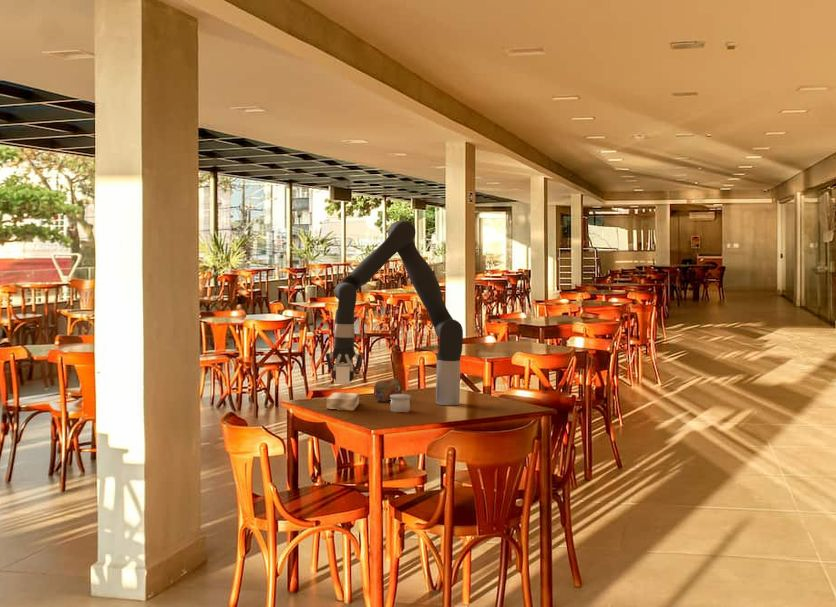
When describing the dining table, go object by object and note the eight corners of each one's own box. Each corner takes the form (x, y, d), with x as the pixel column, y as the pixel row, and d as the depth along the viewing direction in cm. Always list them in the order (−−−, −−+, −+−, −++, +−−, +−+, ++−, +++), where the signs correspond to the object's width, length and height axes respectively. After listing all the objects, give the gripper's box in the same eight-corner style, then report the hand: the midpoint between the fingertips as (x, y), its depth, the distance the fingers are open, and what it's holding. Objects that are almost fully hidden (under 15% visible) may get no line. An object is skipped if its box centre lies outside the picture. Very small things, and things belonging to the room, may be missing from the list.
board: (358, 403, 360) (358, 393, 360) (353, 410, 344) (353, 399, 344) (333, 402, 361) (333, 392, 361) (326, 409, 345) (326, 398, 345)
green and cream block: (351, 382, 355) (351, 363, 355) (349, 384, 349) (349, 365, 349) (337, 382, 355) (337, 363, 355) (335, 383, 350) (335, 365, 349)
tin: (378, 402, 364) (378, 381, 363) (372, 402, 366) (372, 380, 365) (402, 398, 376) (402, 377, 375) (396, 397, 378) (396, 377, 377)
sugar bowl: (410, 409, 349) (411, 394, 349) (409, 413, 341) (409, 397, 341) (390, 409, 349) (390, 393, 349) (388, 412, 342) (389, 396, 342)
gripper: (364, 335, 355) (363, 380, 356) (327, 334, 356) (326, 378, 356) (362, 337, 347) (361, 382, 348) (323, 336, 348) (322, 381, 349)
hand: (343, 380), depth 352 cm, fingers closed on green and cream block, 5 cm apart
